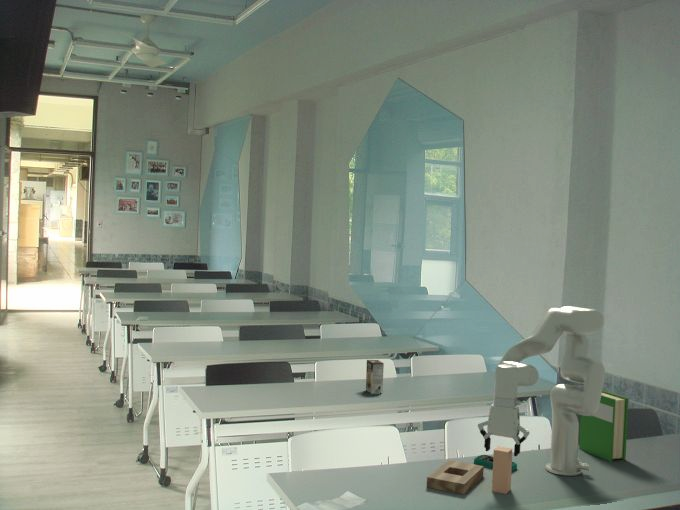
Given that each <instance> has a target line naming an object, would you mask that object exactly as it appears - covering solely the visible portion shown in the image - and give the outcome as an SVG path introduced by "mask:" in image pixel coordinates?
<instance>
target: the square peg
mask: <svg viewBox="0 0 680 510" xmlns="http://www.w3.org/2000/svg"><path fill="white" fill-rule="evenodd" d="M492 455H493V456H492V457H493V469H492V478H491V479H492V481H491V483H492V484H491V491H492V492H494V493H495V492H496V493H499V494H505V495H507V494H508V493H509V492H510V491H511V487H512V472H511V469H512V462H513V448H511V447H506V446H501V445H497V446H496V447H495V448H494V449H493V454H492Z"/></svg>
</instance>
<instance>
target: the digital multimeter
mask: <svg viewBox="0 0 680 510" xmlns="http://www.w3.org/2000/svg"><path fill="white" fill-rule="evenodd" d="M473 464H474V465H480V466H484V468H489V469H492V470H493V456H492V455H488V454H480V455H477V456H476V457H475V458H474V459H473ZM517 469H518V463H517V462H515V461H512V469H511V473H512V472H514V471H516V470H517Z"/></svg>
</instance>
